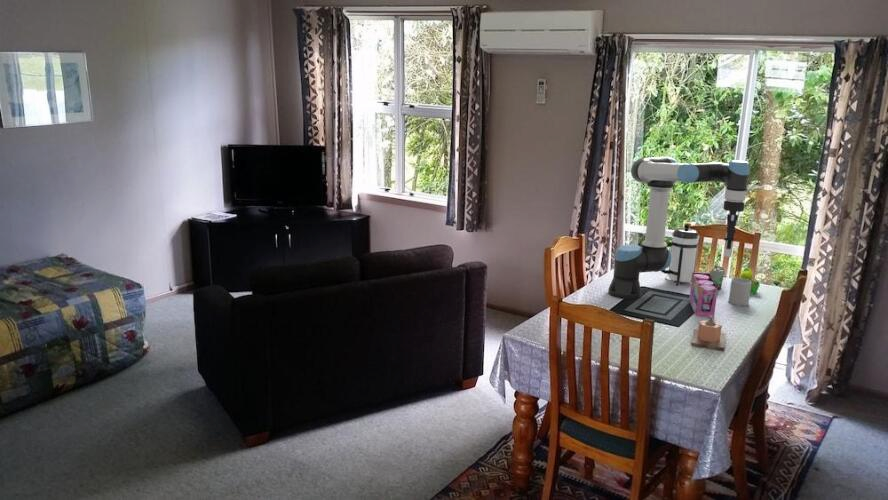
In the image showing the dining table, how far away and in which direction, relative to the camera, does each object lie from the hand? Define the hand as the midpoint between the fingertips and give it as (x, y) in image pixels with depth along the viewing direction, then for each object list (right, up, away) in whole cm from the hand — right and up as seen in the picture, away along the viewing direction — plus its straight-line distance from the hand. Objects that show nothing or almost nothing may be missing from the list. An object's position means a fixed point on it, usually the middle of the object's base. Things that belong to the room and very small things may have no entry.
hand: (727, 252), depth 271 cm
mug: (+23, -23, +42) cm, 53 cm away
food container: (+20, -18, +61) cm, 67 cm away
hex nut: (-10, -34, -5) cm, 35 cm away
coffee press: (+4, -16, +69) cm, 71 cm away
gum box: (+2, -26, +32) cm, 41 cm away
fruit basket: (+33, -19, +58) cm, 69 cm away
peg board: (-10, -35, -5) cm, 37 cm away
